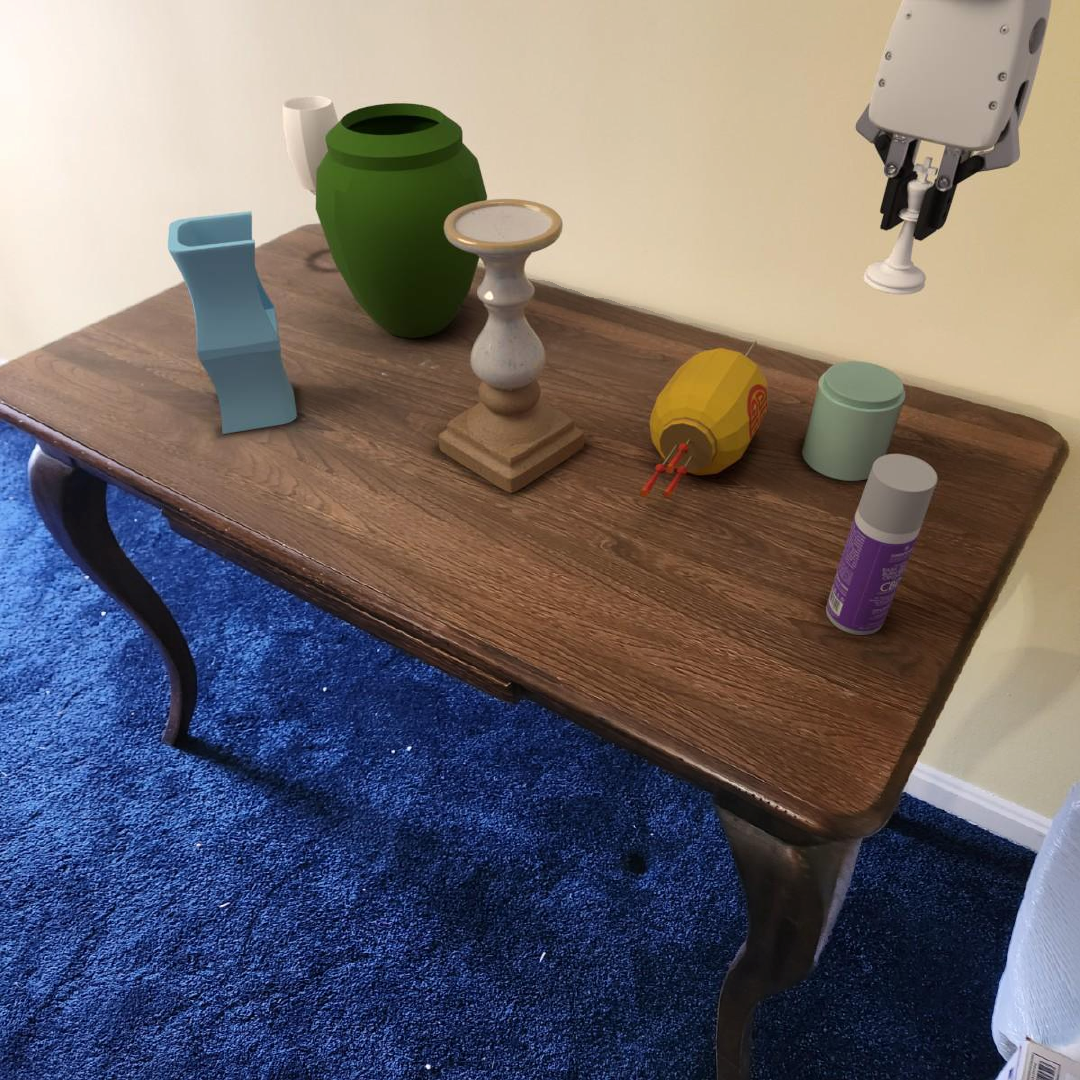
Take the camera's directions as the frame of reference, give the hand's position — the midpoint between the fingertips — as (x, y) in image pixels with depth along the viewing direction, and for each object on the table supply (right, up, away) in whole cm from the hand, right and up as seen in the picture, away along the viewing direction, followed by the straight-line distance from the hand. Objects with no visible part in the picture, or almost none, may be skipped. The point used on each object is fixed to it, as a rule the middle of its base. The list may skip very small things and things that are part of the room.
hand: (908, 228), depth 69 cm
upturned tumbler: (+1, -17, +18) cm, 25 cm away
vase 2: (-61, -11, +26) cm, 67 cm away
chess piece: (0, -3, +3) cm, 5 cm away
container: (-4, -31, +2) cm, 32 cm away
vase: (-45, +2, +40) cm, 60 cm away
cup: (-59, +15, +54) cm, 81 cm away
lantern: (-13, -16, +19) cm, 28 cm away
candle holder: (-33, -16, +20) cm, 41 cm away
